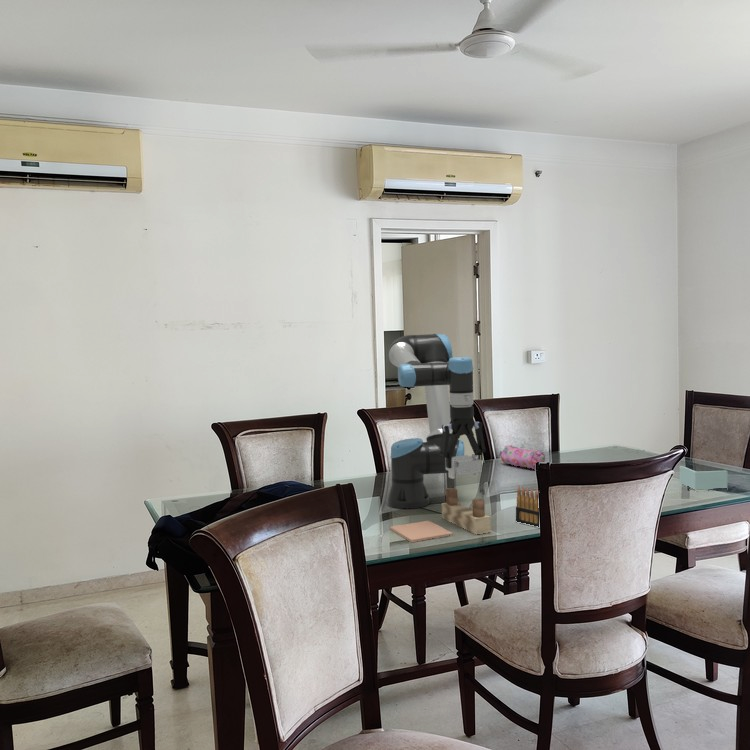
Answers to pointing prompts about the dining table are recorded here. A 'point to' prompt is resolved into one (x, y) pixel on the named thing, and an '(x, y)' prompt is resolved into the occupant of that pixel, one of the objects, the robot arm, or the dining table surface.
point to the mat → (420, 531)
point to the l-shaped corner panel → (703, 478)
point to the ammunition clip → (527, 507)
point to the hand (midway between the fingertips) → (463, 476)
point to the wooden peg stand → (465, 513)
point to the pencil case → (521, 457)
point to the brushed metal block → (466, 465)
